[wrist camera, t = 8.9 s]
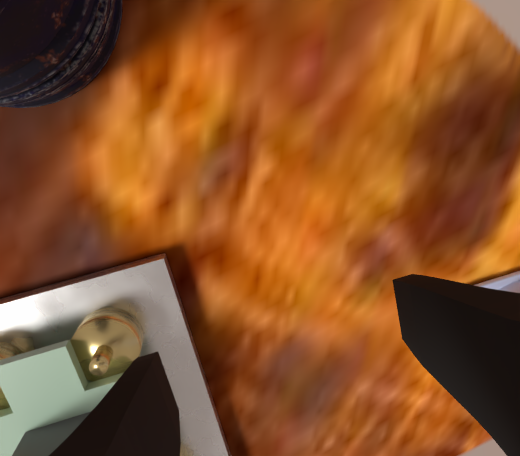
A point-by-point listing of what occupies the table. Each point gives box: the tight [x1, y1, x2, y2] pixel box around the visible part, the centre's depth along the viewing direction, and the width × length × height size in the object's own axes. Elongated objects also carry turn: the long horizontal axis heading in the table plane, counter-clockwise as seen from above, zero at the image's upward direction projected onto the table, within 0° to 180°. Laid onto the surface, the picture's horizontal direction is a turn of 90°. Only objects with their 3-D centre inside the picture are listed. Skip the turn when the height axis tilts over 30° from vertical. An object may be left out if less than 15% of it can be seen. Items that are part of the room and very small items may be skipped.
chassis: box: [0, 253, 231, 456], centre depth 20 cm, size 13×16×4 cm
